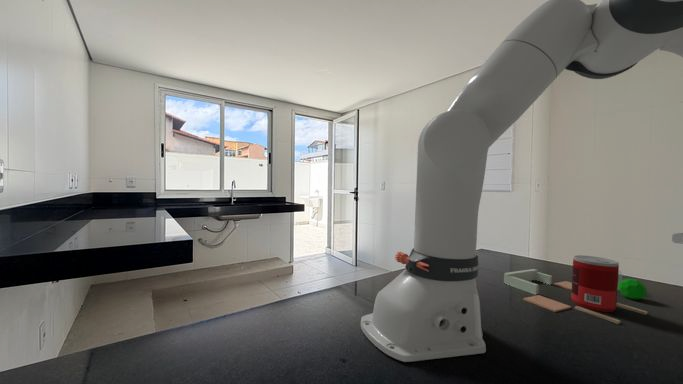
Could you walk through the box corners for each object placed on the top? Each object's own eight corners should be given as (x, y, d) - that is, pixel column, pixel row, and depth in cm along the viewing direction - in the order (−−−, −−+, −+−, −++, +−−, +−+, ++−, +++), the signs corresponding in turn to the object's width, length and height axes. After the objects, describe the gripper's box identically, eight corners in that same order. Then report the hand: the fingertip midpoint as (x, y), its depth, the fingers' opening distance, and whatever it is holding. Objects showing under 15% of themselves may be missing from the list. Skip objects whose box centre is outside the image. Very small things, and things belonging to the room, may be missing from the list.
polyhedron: (645, 299, 71) (647, 280, 71) (646, 304, 68) (647, 284, 68) (618, 293, 75) (619, 275, 75) (617, 297, 72) (618, 279, 72)
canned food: (626, 313, 62) (629, 264, 62) (589, 312, 62) (592, 262, 62) (595, 299, 70) (598, 255, 69) (563, 298, 70) (565, 254, 70)
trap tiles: (554, 312, 62) (555, 310, 62) (506, 293, 72) (506, 291, 72) (615, 296, 72) (615, 295, 72) (565, 282, 82) (566, 281, 82)
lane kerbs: (617, 323, 57) (617, 321, 57) (550, 300, 68) (550, 298, 68) (647, 314, 62) (647, 311, 62) (580, 293, 74) (580, 291, 74)
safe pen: (535, 294, 72) (536, 283, 71) (503, 283, 79) (504, 273, 79) (565, 288, 77) (566, 278, 77) (532, 278, 85) (533, 268, 85)
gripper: (828, 230, 46) (697, 219, 59) (798, 236, 38) (652, 222, 50) (826, 268, 46) (695, 249, 59) (795, 282, 38) (650, 257, 50)
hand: (675, 237), depth 54 cm, fingers closed
